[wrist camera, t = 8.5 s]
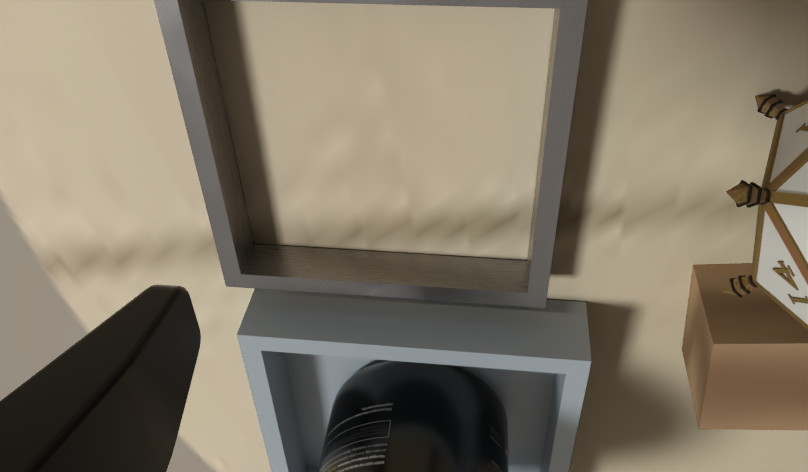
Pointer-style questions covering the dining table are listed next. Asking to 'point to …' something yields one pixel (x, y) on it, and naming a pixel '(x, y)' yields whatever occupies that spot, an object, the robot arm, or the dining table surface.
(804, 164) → the game die
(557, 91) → the grey square frame
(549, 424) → the parts tray
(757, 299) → the block
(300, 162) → the dining table surface
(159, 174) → the dining table surface
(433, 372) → the supplement bottle
